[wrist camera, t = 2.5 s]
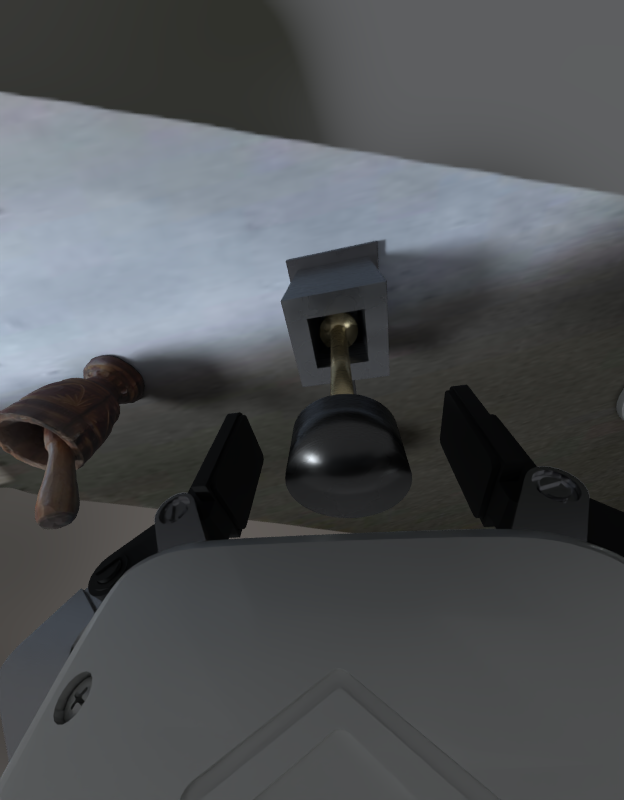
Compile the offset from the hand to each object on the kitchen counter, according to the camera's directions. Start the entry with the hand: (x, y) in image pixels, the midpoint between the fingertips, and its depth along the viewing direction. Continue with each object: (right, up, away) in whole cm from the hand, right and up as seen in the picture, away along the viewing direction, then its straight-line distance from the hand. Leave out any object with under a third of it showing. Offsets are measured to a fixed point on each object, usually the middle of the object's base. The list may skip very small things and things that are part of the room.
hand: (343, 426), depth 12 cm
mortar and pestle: (-27, +4, +26) cm, 37 cm away
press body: (+1, +12, +18) cm, 21 cm away
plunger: (+1, +7, +9) cm, 12 cm away
